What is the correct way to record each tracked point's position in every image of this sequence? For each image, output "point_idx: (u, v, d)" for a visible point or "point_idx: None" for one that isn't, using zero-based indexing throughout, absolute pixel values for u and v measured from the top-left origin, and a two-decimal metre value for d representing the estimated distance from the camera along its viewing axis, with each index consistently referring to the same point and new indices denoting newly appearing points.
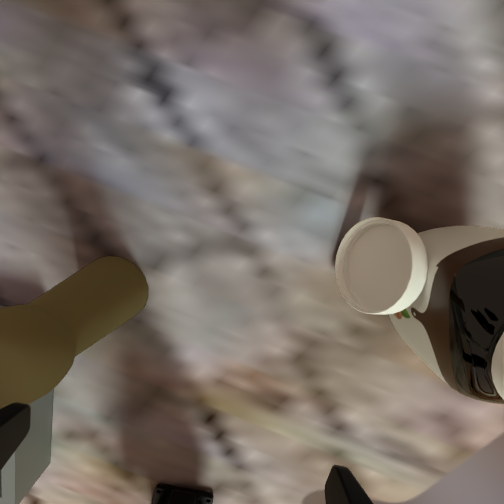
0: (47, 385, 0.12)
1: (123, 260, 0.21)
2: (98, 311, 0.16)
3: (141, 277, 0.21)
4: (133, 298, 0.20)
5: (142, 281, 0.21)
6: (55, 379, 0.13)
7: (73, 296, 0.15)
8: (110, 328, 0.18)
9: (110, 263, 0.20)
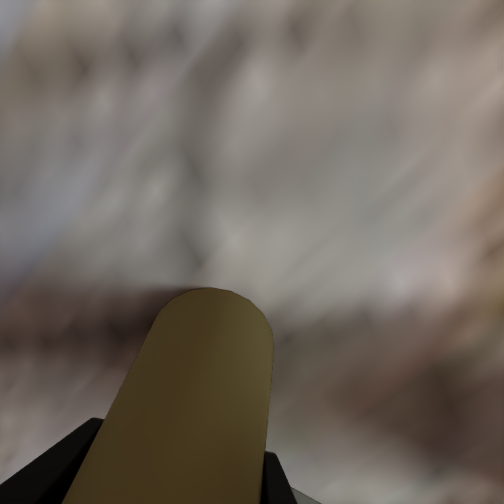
0: None
1: (165, 307, 0.11)
2: (177, 405, 0.06)
3: (205, 292, 0.11)
4: (226, 321, 0.09)
5: (213, 294, 0.11)
6: None
7: (100, 443, 0.05)
8: (249, 397, 0.07)
9: (151, 328, 0.10)
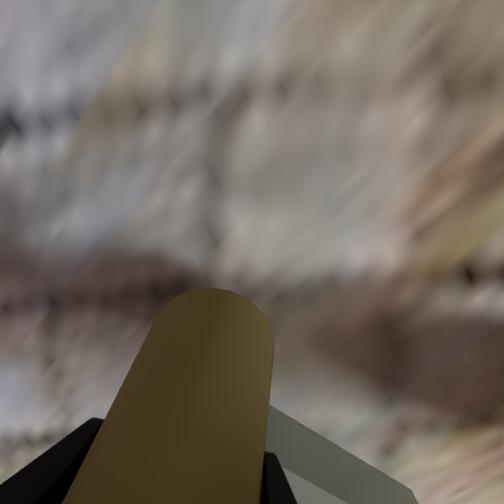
0: None
1: (165, 307, 0.11)
2: (177, 405, 0.06)
3: (205, 292, 0.11)
4: (227, 321, 0.09)
5: (213, 293, 0.11)
6: None
7: (100, 442, 0.06)
8: (249, 397, 0.07)
9: (151, 328, 0.10)
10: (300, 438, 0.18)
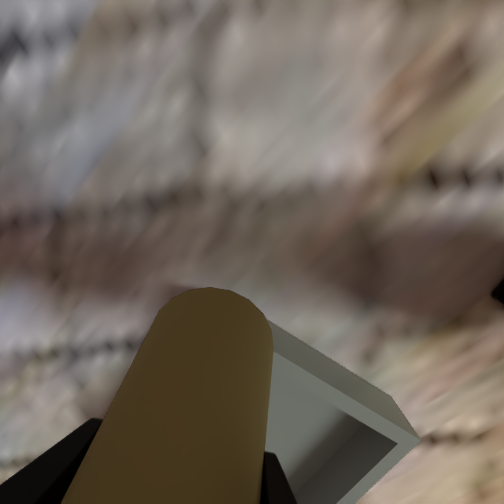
0: None
1: (164, 306, 0.11)
2: (177, 404, 0.06)
3: (205, 292, 0.11)
4: (226, 321, 0.09)
5: (212, 293, 0.11)
6: None
7: (99, 442, 0.05)
8: (249, 396, 0.07)
9: (150, 328, 0.10)
10: (285, 338, 0.19)
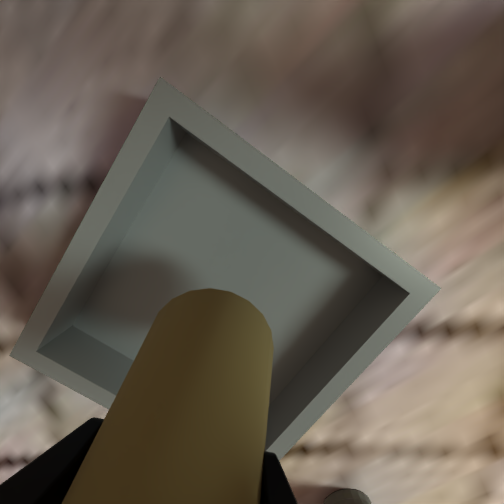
0: None
1: (164, 307, 0.11)
2: (177, 406, 0.06)
3: (205, 293, 0.11)
4: (226, 322, 0.09)
5: (212, 294, 0.11)
6: None
7: (99, 444, 0.05)
8: (249, 398, 0.07)
9: (150, 329, 0.10)
10: None
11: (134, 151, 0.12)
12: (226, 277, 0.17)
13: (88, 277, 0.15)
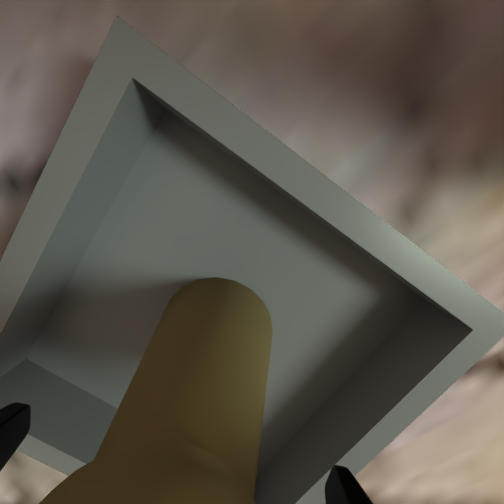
0: None
1: (176, 294, 0.13)
2: (193, 365, 0.07)
3: (212, 281, 0.12)
4: (231, 305, 0.11)
5: (219, 282, 0.12)
6: None
7: (133, 392, 0.07)
8: (251, 364, 0.08)
9: (164, 312, 0.12)
10: None
11: (83, 130, 0.08)
12: None
13: (36, 303, 0.11)
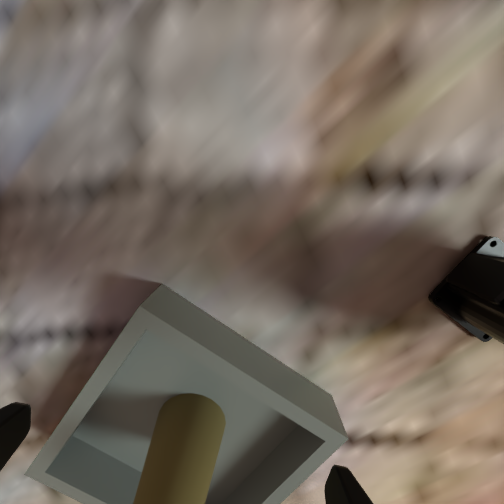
0: None
1: (167, 403, 0.21)
2: (172, 473, 0.16)
3: (188, 397, 0.21)
4: (197, 420, 0.19)
5: (192, 399, 0.20)
6: None
7: (144, 487, 0.15)
8: (203, 465, 0.17)
9: (159, 418, 0.20)
10: (221, 332, 0.19)
11: (120, 349, 0.17)
12: None
13: (85, 415, 0.19)
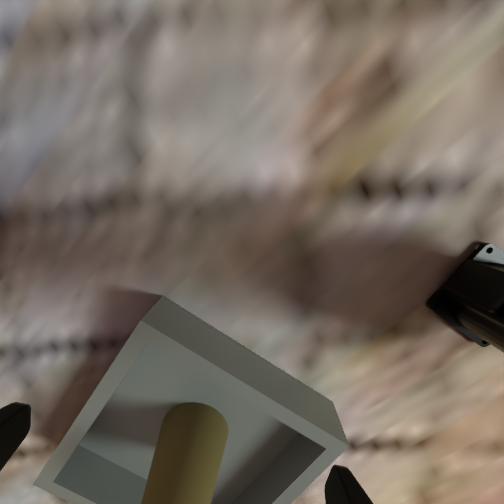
0: None
1: (170, 412, 0.21)
2: (176, 483, 0.16)
3: (191, 406, 0.21)
4: (200, 430, 0.19)
5: (195, 408, 0.21)
6: None
7: (149, 497, 0.16)
8: (206, 474, 0.17)
9: (163, 427, 0.20)
10: (222, 343, 0.20)
11: (123, 362, 0.17)
12: None
13: (91, 425, 0.20)
